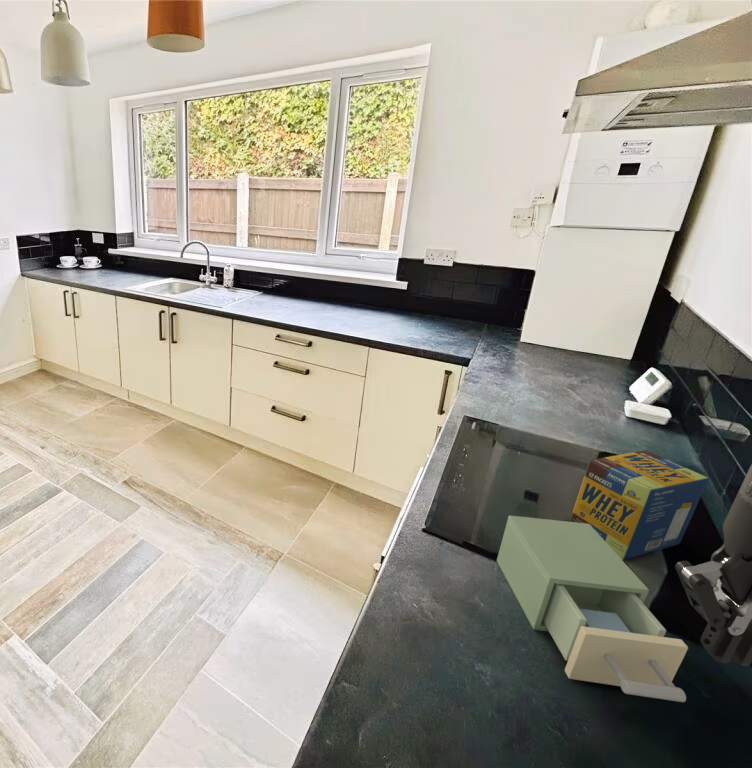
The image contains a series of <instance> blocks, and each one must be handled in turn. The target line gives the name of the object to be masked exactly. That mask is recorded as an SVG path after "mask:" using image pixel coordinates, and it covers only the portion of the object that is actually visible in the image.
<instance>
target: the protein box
mask: <svg viewBox="0 0 752 768" xmlns="http://www.w3.org/2000/svg"><path fill="white" fill-rule="evenodd" d="M709 480H710V478H709V476H708V477H707V476H705V475H703V474H701V473H699V472H696V471H694V470H692V469H689V468H688V467H685V466H682V465H680V464H678V463H676V462H673V461H672V460H669V459H667V458H665V457H662V456H660V455H658V454H655V453H654V452H651V451H649V450H646V449H643V450H638V451H634V452H628V453H627V452H626V453H622V454H616V455H612V456H606V457H601V458H600V457H599V458H594V459H589V461H588V464H587V467H586V470H585V473H584V477H583V479H582V482H581V485H580V488H579V490H578V491H579V492H578V494H577V497H576V501H575V504H574V507H573V510H572V513H571V516H570V519H569V522H576V523H586V524H590V525H591V526H592V527H593V529H594V530H595V531H596V532H597V533H598V534H599V535H600V536H601V537H602V538H603V540H604V541H605V542H606V543H607V544H608V545H609V546H610V547H611V548H612V550H613V551H614V552H615V553H616V554H617V555H618V556H619V557H620V558H621V559H622V561H623V562H624V563H625V564H626V562H627V561H625V560H627V559H631V558H636V557H638V556H641V555H645V554H648V553H653V552H657V551H661V550H664V549H668V548H671V547H675V546H677V545H680V543H681V542H682V539H683V537H684V535H685V533H686V531H687V529H688V526H689V524H690V522H691V519H692V517H693V515H694V513H695V511H696V508H697V506H698V504H699V501H700V499H701V497H702V494H703V492H704V491H705V488H706V486H707V483H708V481H709Z"/></svg>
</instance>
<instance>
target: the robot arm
mask: <svg viewBox="0 0 752 768" xmlns="http://www.w3.org/2000/svg"><path fill="white" fill-rule="evenodd" d="M722 532H723V538H724V539H723V540H724V541H723V542H724V543H723V544H722V545H721V546H720V547H719V548H718V549H716V550H715V551H714V552H713V553H712V554H711V556H710V561H707V562H704V563H699V564H697V565H692V564H691V563H690V562H689V561H687V560H680V561H678V562H676V564H675V566H674V568H675V570H676V573H677V575H678V577H679V580H680V582H681V585H682V587H683V589H684V592H685V594H686V597H687V599H688V601H689V605H691V606H692V608H693V609H694V610H695V611H696V612H697V613H698V614H699V615H700V616H701V617H702V618H703V619H704V620H705V621H706V622H707V623H706V626H705V628H704V630H703V632H702V634H701V636H700V638H699V640H700V644H701V645H702V647H703V649H704V650H705V651H706V652H707V653H708V654H709V656H710V657H712V658H713V659H714V661H716V662H718V663H724V664H728V663H730V660H732V661H733V662H734V663H735V664H737V665H740V666H746V667H748V666H750V665H751V664H752V463H751V464H750V466H749V467H748V470H747V472H746V475H745V476H744V479H743V481H742V483H741V486H740V488H738V491H737V494H736V496H735V498H734V500H733V502H732V504H731V506H730V509H729V511H728V513H727V515H726V517H725V519H724V522H723V523H722ZM729 610H731V612H732V613H731V614H730V613H729Z"/></svg>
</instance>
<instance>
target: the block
mask: <svg viewBox="0 0 752 768" xmlns="http://www.w3.org/2000/svg"><path fill="white" fill-rule="evenodd" d="M580 611H581V612H582V614H583V615H584V617H585V618H586V620H587V622H586V624H585V627H591V628H599V629H606V630H614V631H621V632H629V633H631V632H630V631H629V629H628V628H627V627H626V626H625V624H624V623H623V622H622V620H621V619H620V618H619V616H618V615H617V614H616V613H610V612H602V611H594V610H586V609H580Z"/></svg>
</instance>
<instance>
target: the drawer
mask: <svg viewBox="0 0 752 768" xmlns="http://www.w3.org/2000/svg"><path fill="white" fill-rule="evenodd" d="M580 609H586V610H594V611H602V612H610V613H616V614H617V615H618V616H619V618H620V619H621V620H622V622H623V623H624V624H625V626H626V627H627V628H628V629H629V631H630V632H631V633H629V632H621V631H614V630H606V629H599V628H591V627H585V624H586V622H587V620H586V618H585V617H584V615H583V614H582V612H581V611H580ZM542 620H543V622H544V624H545V625H546V627H547V629H548V631H549V632H548V631H547V632H548V633H549V634H550V636H551V637H552V639H553V641H554V643H555V645H556V647H557V648H558V650H559V652H560V653H561V655H562V657H563V659H564V661H567V662H566V665H565V667H564V673H565V674H566V676H567V678H568V679H569V680H575V681H582V682H588V683H596V684H603V685H610V686H615V687H616V686H617V687H620V689H621V691H622V692H623V693H624V694H625V695H630V696H631V695H632V696H638V697H645V698H650V699H658V700H665V701H670V702H671V701H672V702H678V703H685V702H686V701H687V696H686V693H685V691H684V690H683V689H682V688H681V687H677V686H675V684H674V683H673V680H674V678H675V676H676V675H677V672H678V669H679V668H680V666H681V664H682V662H683V660H684V658H685V656H686V654H687V651H688V650H689V647H688V645H687V644H686V643H685V642H684V640H683V639H681V638H673V637H667V636H666V637H665V635H666V633H667V630H666V628H665V627H664V626H663V625H662V624H661V622H660V621H659V619H657V618H656V616H654V614H653V613H652V612H651V611H650V609H649V608H648V607H647V606H646V605H645V604H643V603H642V601H641V600H640V599H639V598H638V597H637V596H636V594H635V593H630V592H622V591H614V590H606V589H598V588H589V587H581V586H573V585H565V584H557V583H554V586H553V589H552V592H551V595H550V598H549V601H548V604H547V607H546V610H545V613H544V616H543V619H542Z"/></svg>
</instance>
